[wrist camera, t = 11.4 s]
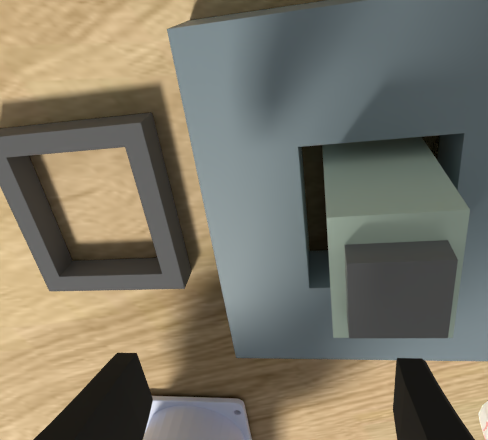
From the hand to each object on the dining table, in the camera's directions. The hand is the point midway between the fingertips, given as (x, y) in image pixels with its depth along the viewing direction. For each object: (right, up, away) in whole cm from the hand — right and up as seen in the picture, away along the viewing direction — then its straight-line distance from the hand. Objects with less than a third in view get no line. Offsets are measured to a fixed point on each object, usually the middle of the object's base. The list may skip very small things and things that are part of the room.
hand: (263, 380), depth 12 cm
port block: (+5, +6, +8) cm, 11 cm away
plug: (+5, +6, +8) cm, 11 cm away
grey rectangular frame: (-8, +5, +10) cm, 14 cm away
